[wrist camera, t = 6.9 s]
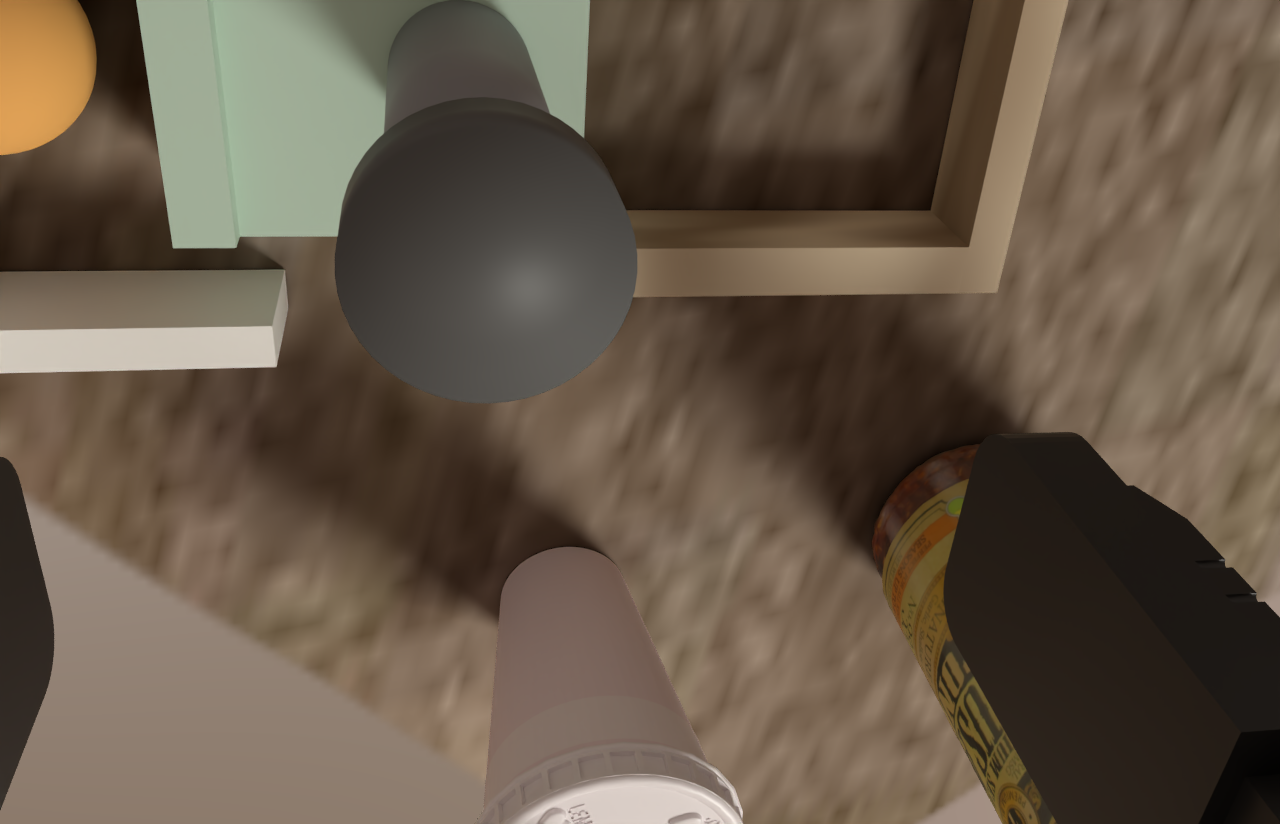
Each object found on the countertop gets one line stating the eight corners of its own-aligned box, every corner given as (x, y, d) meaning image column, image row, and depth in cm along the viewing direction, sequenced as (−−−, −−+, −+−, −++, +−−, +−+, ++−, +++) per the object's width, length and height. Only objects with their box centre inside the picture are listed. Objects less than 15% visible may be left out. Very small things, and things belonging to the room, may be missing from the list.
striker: (574, -127, 24) (708, 0, 13) (564, 187, 27) (662, 487, 17) (156, -150, 22) (-69, -26, 12) (200, 185, 26) (56, 513, 15)
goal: (226, -331, 21) (182, -342, 17) (288, 307, 28) (267, 413, 24) (-261, -371, 20) (-440, -394, 16) (-75, 312, 26) (-166, 425, 22)
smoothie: (458, 507, 32) (488, 978, 20) (685, 507, 33) (839, 949, 21) (449, 681, 35) (470, 1176, 23) (656, 675, 36) (776, 1140, 24)
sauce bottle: (864, 448, 33) (1332, 1203, 16) (1070, 416, 34) (1722, 1110, 17) (856, 620, 36) (1237, 1391, 20) (1043, 589, 37) (1565, 1307, 20)
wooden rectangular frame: (1056, -193, 25) (1113, -184, 23) (957, 254, 30) (997, 292, 28) (396, -238, 23) (394, -234, 20) (413, 257, 28) (413, 299, 26)
